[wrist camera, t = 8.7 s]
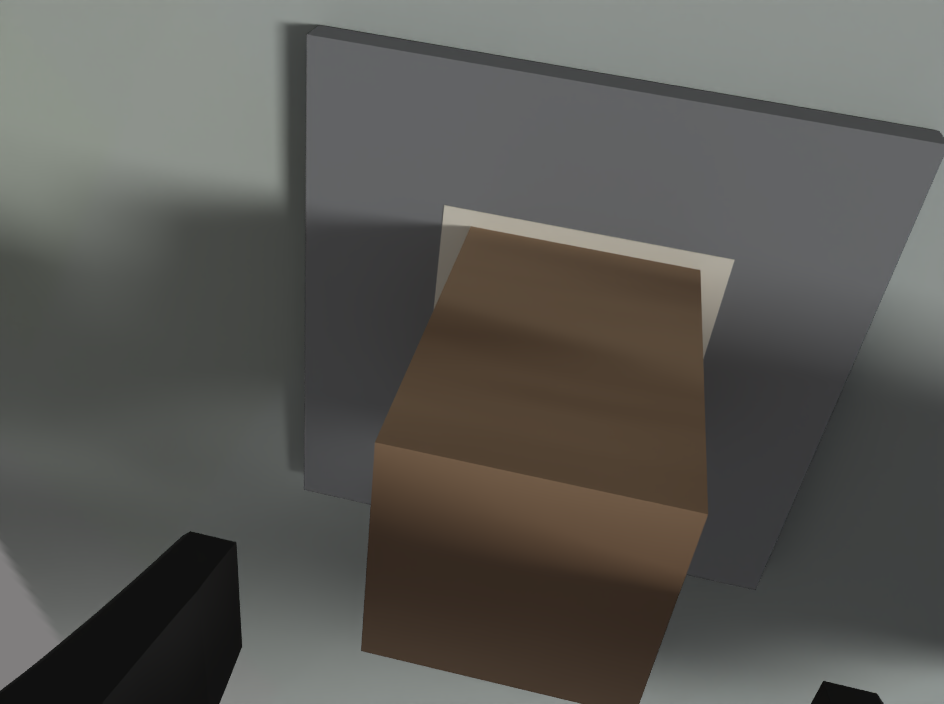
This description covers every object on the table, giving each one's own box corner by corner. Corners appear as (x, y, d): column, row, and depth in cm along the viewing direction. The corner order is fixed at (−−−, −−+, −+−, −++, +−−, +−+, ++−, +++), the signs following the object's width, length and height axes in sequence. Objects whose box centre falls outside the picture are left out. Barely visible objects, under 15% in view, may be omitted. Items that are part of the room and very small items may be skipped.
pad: (939, 130, 14) (948, 145, 14) (753, 568, 20) (755, 590, 19) (319, 25, 15) (306, 34, 14) (313, 472, 21) (303, 490, 20)
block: (647, 447, 18) (635, 716, 13) (448, 405, 18) (361, 650, 13) (700, 270, 15) (708, 514, 10) (470, 226, 16) (375, 442, 11)
